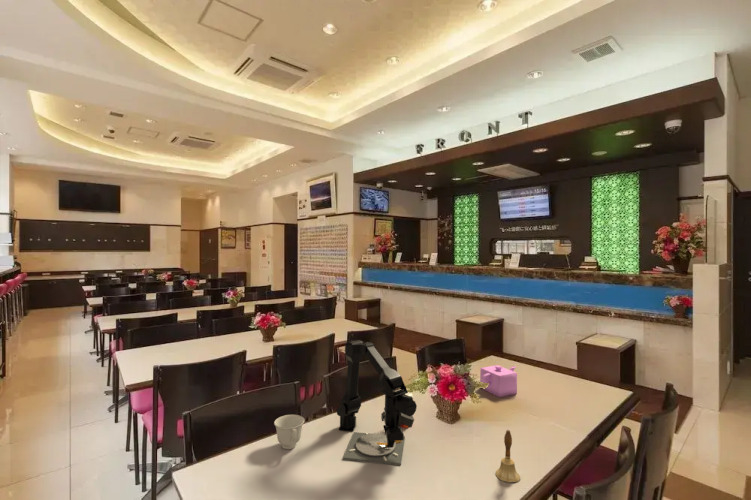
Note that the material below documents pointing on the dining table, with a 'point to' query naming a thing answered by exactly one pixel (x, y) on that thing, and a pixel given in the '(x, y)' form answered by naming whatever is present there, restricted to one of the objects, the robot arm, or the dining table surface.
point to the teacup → (289, 430)
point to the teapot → (499, 380)
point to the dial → (374, 445)
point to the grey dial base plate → (355, 455)
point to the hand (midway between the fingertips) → (391, 447)
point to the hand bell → (507, 463)
